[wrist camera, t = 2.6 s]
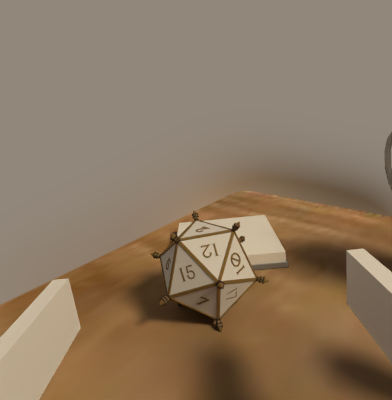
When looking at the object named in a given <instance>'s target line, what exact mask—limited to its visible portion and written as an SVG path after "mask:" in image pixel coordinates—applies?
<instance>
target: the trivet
mask: <svg viewBox="0 0 392 400" xmlns="http://www.w3.org/2000/svg"><path fill="white" fill-rule="evenodd" d="M204 222H208V223H212V224H215V225H219V226H223V227H227V228H230V229H232V225H234V223H237V222H240V228H239V229H238V230H236V231H235V232H236V234H237V236H238V238H240V237H241V236H245V241H243V243H241V244H242V246H243V248H244V250H245V253H246V255H247V257H248V259H249V261H250V263H251V265H252V267H253V269H254V270H260V269H271V268H283V267H289V265H288V261H287V259H286V252H285V250H284V248H283V246H282V245H281V243H280V241H279V239H278V238H277V236H276V234H275V232H274V231H273V229H272V227H271V225H270V224H269V222H268V220H267V218H266V217H265V215H259V216H249V217H239V218H228V219H218V220H207V221H204ZM191 223H192V222H187V223H179V228H178V233H177V235H178V236H179V235H180V234H181V233H182V232H183V231H184V230H185V229H186V228H187V227H188V226H189V225H190V224H191Z"/></svg>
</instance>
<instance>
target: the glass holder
mask: <svg viewBox="0 0 392 400" xmlns="http://www.w3.org/2000/svg"><path fill="white" fill-rule="evenodd" d="M391 145H392V132H391V134H390V135H389V137H388V138H387V142H386V147H385V170H386V174H387V179H388V183H389V185H390V188H391V190H392V169H391V152H390V151H391Z"/></svg>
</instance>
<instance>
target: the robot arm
mask: <svg viewBox="0 0 392 400" xmlns="http://www.w3.org/2000/svg"><path fill="white" fill-rule="evenodd" d="M346 261H347V304H348V306H349V307H350V308H351V310H352V311H353V312H354V314H355V315H356V316H357V317H358V319H359V320H360V321H361V323H362V324H363V325H364V327H365V328H366V329H367V331H368V332H369V333H370V335H371V336H372V337H373V339H374V340H375V341H376V343H377V344H378V345H379V347H380V348H381V349H382V351H383V352H384V353H385V355H386V356H387V357H388V358H389V360H390V361H391V362H392V272H391V271H390V270H388V269H387V268H386V267H385V266H384V265H382V264H381V263H380V262H379V261H378V260H376V259H375V258H374V257H373V256H372V255H371V254H369V253H368V252H367V251H366V250H365V249H355V250H346ZM80 328H81V327H80V323H79V319H78V315H77V311H76V307H75V303H74V299H73V295H72V291H71V286H70V282H69V279H59V280H53V281H52V282H51V283H50V284H49V285H48V286H47V287H46V288H45V289H44V291H43V292H42V293H41V294H40V295H39V296H38V297H37V298H36V299H35V300H34V302H33V303H32V304H31V305H30V306H29V307H28V308H27V309H26V310H25V311H24V312H23V314H22V315H21V316H20V317H19V318H18V319H17V320H16V321H15V322H14V323H13V324H12V326H11V327H10V328H9V329H8V330H7V331H6V332H5V333H4V334H3V335H2V337H1V338H0V400H39V399H40V397H41V395H42V394H43V392H44V390H45V389H46V387H47V385H48V383H49V382H50V380H51V378H52V377H53V375H54V373H55V371H56V370H57V368H58V366H59V364H60V363H61V361H62V359H63V358H64V356H65V354H66V352H67V351H68V349H69V347H70V345H71V344H72V342H73V340H74V339H75V337H76V335H77V333H78V332H79V330H80Z"/></svg>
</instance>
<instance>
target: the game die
mask: <svg viewBox="0 0 392 400" xmlns="http://www.w3.org/2000/svg"><path fill="white" fill-rule="evenodd" d="M192 216H193V219H194V221H193V222H192V223H191V224H190V225H189V226H188V227H187V228H186V229H185V230H184V231H183V232H182V233H181V234H180V235H179V236H178V235H176V233H175V234H171V238H170V239H171V240H172V241H173V242H172V244H171V245H170V246H169V247H168V248H167V249H166V250H165V251H164V252H163V253H162V254H159V253H157V252H155V253H152V254H151V255H152V256H153V257H154V258H156V259H157V258H160V261H161V266H162V271H163V276H164V282H165V287H166V292H167V296H165V297H164V296H163V298H161V300H160V303H159V305H163V304H164V305H165V304H166V303H167V302H168V300H169V299H170V300H172V301H174V302H177V303H178V306H181V305H184V306H186V307H188V308H190V309H193V310H195V311H197V312H199V313H202V314H204V315H206V316H208V317H211V318H213V319H215V320H216V326H217V327H216V328H218V329H219V331H220V332H221V331H222V327H223V325H222V322H221V320H220V319H221V318H222V317H223V316H224V314H225V313H226V312H227V311H228V310H229V309H230V308H231V307H232V306H233V305H234V304H235V303H236V302H237V301H238V300H239V299H240V298H241V296H242V295H243V294H244V293H245V292H246V291H247V290H248V289H249V288H250V287H251V286H252V285H253V284H254V283H255V282H256V281H258V282H259V283H260V282H261V283H262V284H263V283H266V282H269V281H268V280H267V279H266V278H264V277H257V275H256V273H255V271H254V269H253V267H252V265H251V263H250V261H249V259H248V257H247V255H246V253H245V250H244V248H243V246H242V244H241V243H243V241H245V236H241V237H240V238H238V236H237V234H236V232H235V231H236V230H238V229H239V228H240V222H237V223H234V225H232V229H230V228H227V227H223V226H219V225H215V224H212V223H208V222H204V221H201V220H198V217H199V216H198V213H196V212H195V211H194V212H193V214H192Z"/></svg>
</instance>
